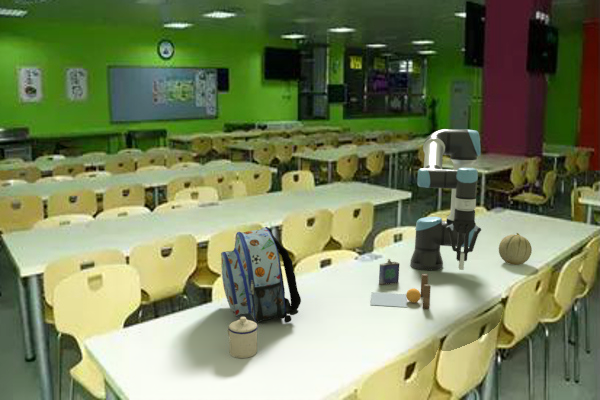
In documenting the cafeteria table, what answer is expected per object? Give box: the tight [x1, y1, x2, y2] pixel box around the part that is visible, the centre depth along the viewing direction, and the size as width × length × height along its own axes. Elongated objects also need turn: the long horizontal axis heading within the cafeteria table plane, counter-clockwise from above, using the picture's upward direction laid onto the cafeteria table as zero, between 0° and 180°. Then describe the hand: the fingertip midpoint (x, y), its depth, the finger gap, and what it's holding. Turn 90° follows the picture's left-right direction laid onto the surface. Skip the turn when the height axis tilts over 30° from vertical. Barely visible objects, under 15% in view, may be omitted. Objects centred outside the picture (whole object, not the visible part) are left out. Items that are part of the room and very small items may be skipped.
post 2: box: [422, 284, 431, 310], centre depth 215 cm, size 3×3×9 cm
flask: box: [378, 258, 400, 286], centre depth 242 cm, size 9×3×11 cm, turn 109°
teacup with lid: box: [227, 316, 258, 359], centre depth 178 cm, size 12×9×12 cm
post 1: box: [420, 273, 429, 298], centre depth 227 cm, size 3×3×9 cm
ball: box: [405, 287, 422, 303], centre depth 221 cm, size 6×6×6 cm
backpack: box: [220, 226, 302, 324], centre depth 208 cm, size 33×25×31 cm
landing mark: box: [370, 291, 408, 308], centre depth 224 cm, size 14×14×1 cm
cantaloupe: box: [498, 232, 532, 266], centre depth 270 cm, size 15×15×15 cm
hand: (461, 268), depth 217 cm, fingers closed
